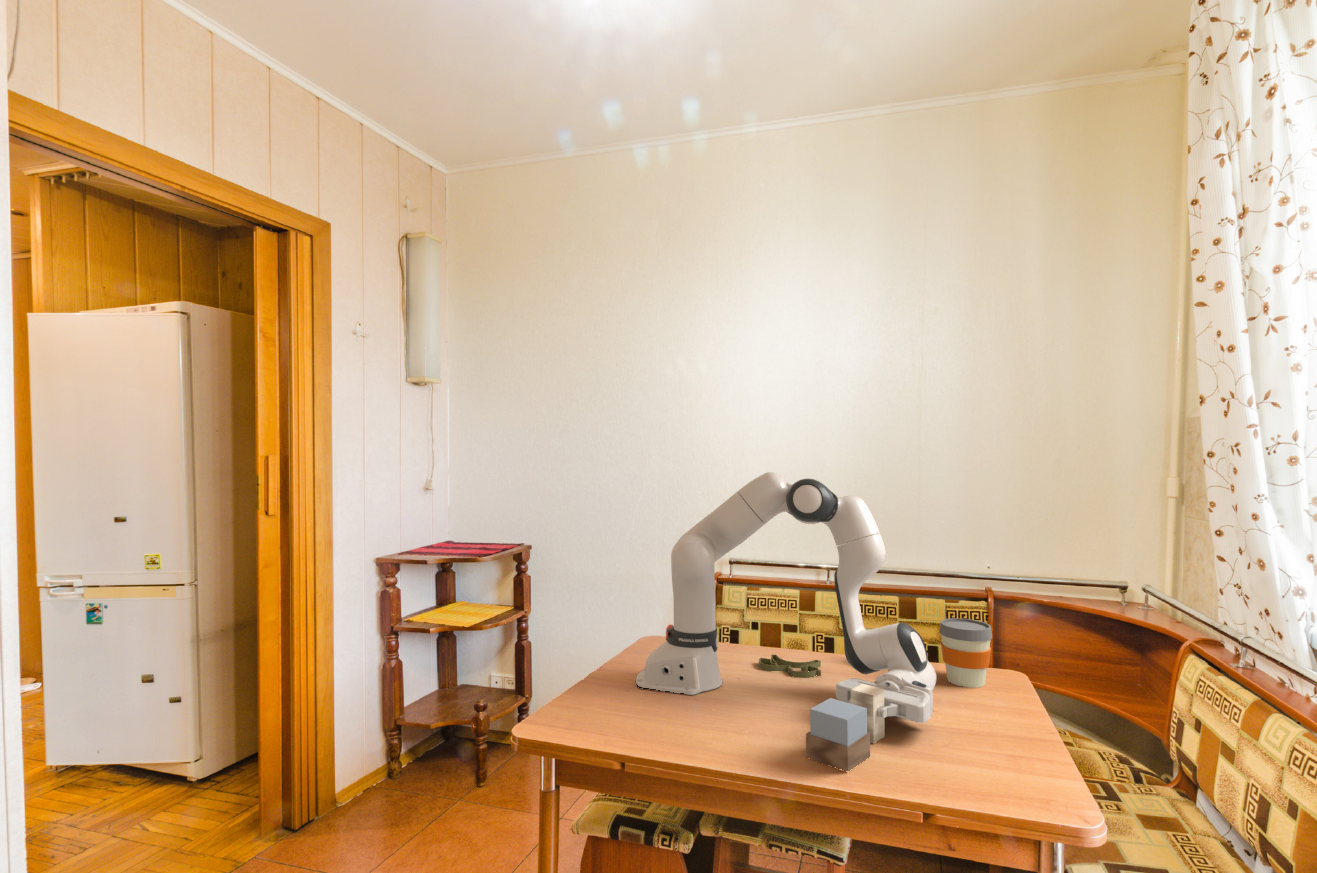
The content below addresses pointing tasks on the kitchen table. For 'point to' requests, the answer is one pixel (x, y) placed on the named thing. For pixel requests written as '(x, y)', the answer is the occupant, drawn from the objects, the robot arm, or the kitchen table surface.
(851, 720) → the slate-blue top block
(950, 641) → the reusable coffee cup
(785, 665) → the cookie cutter
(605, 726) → the kitchen table surface
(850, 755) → the walnut base block
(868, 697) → the cream pillar block
